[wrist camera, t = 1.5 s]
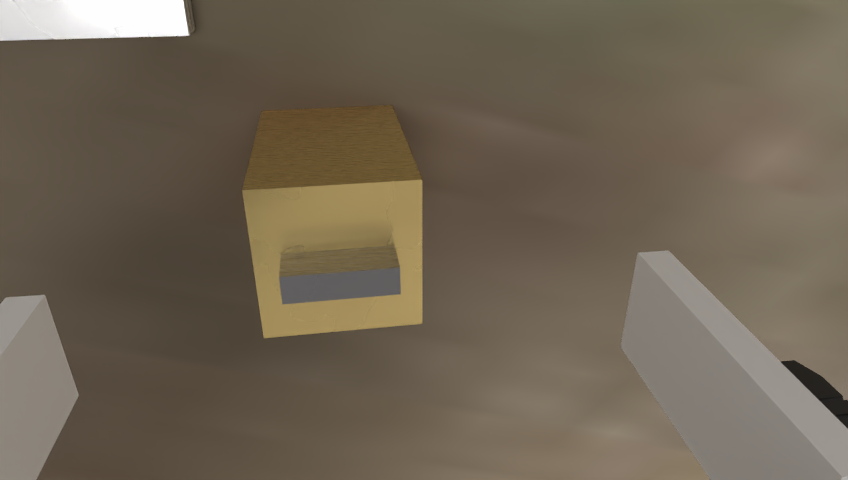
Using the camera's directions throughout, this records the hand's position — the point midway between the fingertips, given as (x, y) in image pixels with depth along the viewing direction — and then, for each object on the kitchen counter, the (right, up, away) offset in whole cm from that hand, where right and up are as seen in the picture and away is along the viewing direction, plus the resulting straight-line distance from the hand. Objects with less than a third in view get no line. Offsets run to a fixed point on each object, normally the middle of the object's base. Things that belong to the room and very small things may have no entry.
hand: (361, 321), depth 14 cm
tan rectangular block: (-2, +4, +9) cm, 10 cm away
